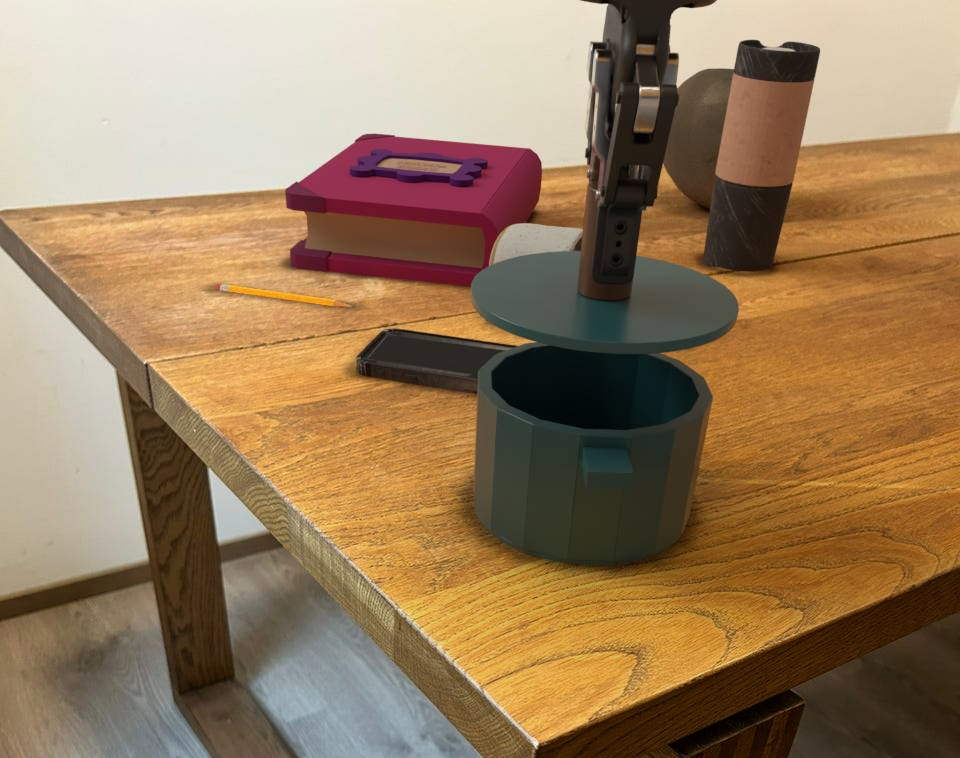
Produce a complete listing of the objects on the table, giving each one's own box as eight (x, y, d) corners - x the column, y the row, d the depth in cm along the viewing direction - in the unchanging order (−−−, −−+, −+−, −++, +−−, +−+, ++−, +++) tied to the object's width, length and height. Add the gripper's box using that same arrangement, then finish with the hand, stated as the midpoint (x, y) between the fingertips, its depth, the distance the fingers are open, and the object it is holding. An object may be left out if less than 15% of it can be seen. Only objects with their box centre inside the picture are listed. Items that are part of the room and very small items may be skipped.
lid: (707, 275, 62) (728, 158, 58) (762, 371, 50) (793, 233, 46) (469, 266, 62) (473, 148, 58) (470, 360, 50) (474, 220, 46)
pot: (662, 443, 72) (681, 327, 66) (713, 598, 57) (743, 463, 51) (472, 437, 71) (477, 320, 66) (473, 591, 56) (479, 455, 51)
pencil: (219, 290, 93) (218, 282, 93) (354, 309, 91) (354, 301, 90) (215, 293, 92) (214, 285, 92) (351, 312, 90) (351, 304, 90)
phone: (385, 326, 84) (560, 351, 81) (385, 339, 84) (559, 364, 82) (351, 361, 78) (538, 389, 75) (351, 375, 78) (537, 403, 76)
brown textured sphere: (767, 199, 126) (794, 64, 117) (764, 230, 115) (794, 83, 106) (655, 188, 129) (674, 54, 119) (642, 217, 118) (661, 72, 109)
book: (539, 213, 117) (544, 142, 112) (495, 291, 95) (499, 207, 91) (366, 196, 120) (364, 127, 115) (285, 268, 98) (279, 186, 93)
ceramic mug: (519, 290, 96) (524, 206, 91) (597, 307, 93) (606, 221, 88) (463, 325, 88) (465, 235, 84) (545, 345, 85) (552, 253, 81)
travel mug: (745, 282, 100) (791, 54, 88) (685, 262, 105) (721, 42, 92) (788, 268, 105) (838, 48, 92) (728, 249, 109) (768, 37, 97)
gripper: (776, -120, 39) (698, 320, 49) (708, -125, 50) (656, 235, 60) (583, -130, 38) (546, 314, 49) (557, -132, 49) (532, 230, 60)
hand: (607, 269), depth 55 cm, fingers closed on lid, 3 cm apart
